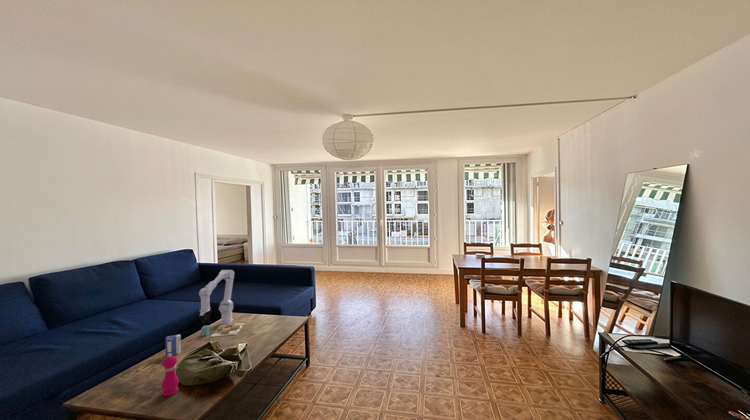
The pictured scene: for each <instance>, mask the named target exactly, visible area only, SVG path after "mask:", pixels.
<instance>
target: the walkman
mask: <svg viewBox="0 0 750 420" xmlns="http://www.w3.org/2000/svg"><path fill="white" fill-rule="evenodd" d="M164 338H165V356H166V357H168V354H172V356H175V355H178V354H180V353H181V352H182V336H181V334H180V333H179V334H174V335H168V336H166V337H164Z"/></svg>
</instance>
